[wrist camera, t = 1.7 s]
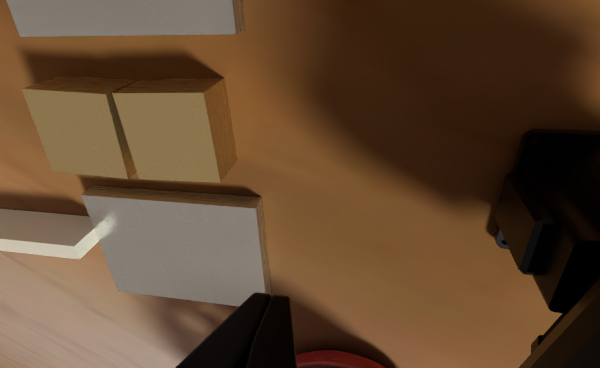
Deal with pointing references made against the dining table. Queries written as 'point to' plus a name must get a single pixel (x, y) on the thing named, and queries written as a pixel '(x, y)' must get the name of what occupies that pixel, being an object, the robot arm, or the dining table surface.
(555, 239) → the robot arm
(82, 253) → the tray
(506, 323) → the dining table surface
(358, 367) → the plant pot
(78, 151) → the beige wooden block
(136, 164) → the tan block
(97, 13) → the plate
